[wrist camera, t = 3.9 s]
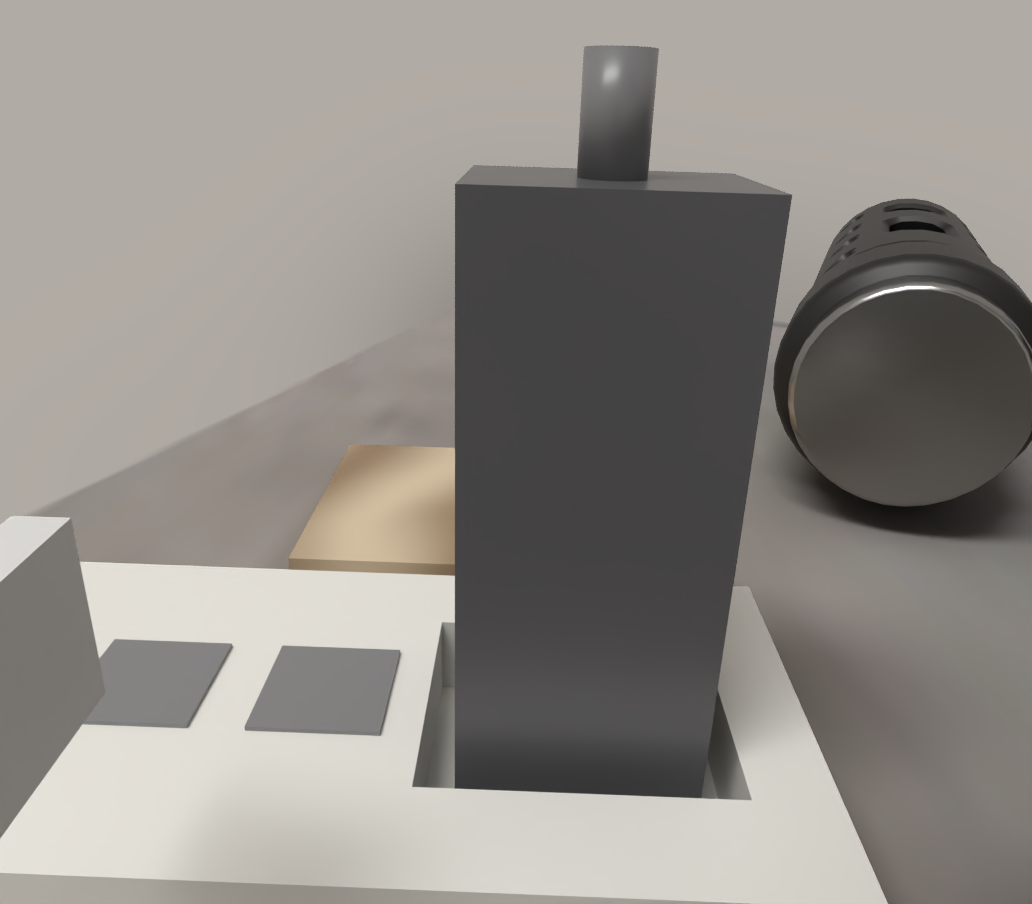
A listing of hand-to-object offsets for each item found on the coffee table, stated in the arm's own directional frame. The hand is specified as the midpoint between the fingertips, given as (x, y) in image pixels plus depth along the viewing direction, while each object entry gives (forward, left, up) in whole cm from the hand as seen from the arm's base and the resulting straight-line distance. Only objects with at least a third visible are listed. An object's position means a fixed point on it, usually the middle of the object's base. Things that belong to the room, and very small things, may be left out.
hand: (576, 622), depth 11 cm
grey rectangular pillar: (-1, -6, -8) cm, 10 cm away
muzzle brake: (-18, -32, -9) cm, 37 cm away
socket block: (+4, -6, -8) cm, 11 cm away
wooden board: (+1, -20, -8) cm, 21 cm away
